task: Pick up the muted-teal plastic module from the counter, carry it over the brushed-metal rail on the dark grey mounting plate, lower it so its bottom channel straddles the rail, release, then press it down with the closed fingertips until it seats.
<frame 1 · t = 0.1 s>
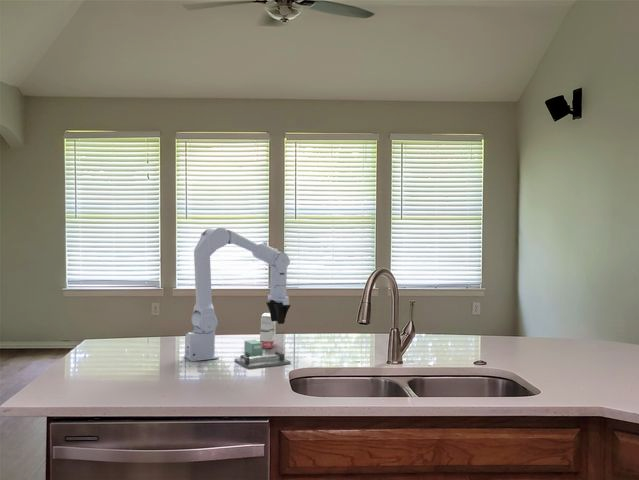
hand: (277, 322, 197), 10 cm above the countertop, fingers open, 5 cm apart
ink box: (267, 346, 204), on the countertop, touching gripper
rail plate: (262, 362, 178), on the countertop
module: (253, 356, 187), on the countertop
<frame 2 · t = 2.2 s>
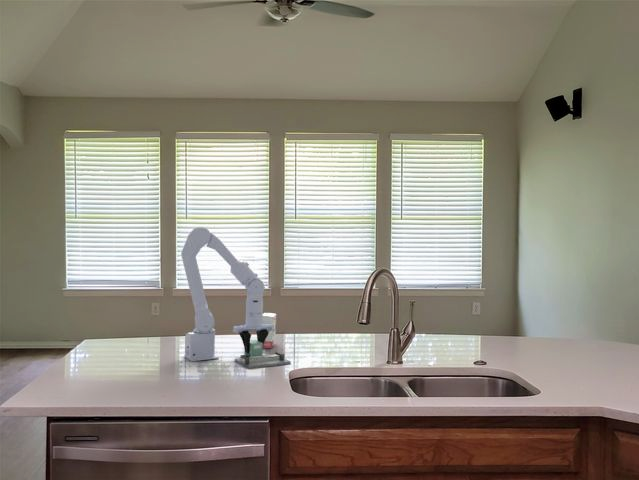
hand: (253, 352, 187), 1 cm above the countertop, fingers closed on module, 4 cm apart
ink box: (267, 346, 204), on the countertop
module: (253, 356, 187), on the countertop, touching gripper
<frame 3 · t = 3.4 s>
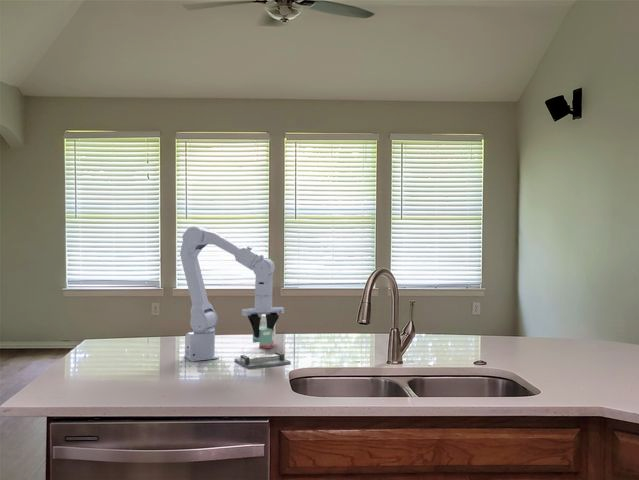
hand: (262, 336, 179), 8 cm above the countertop, fingers closed on module, 4 cm apart
module: (262, 343, 179), point 6 cm above the countertop, touching gripper
everything else where it was.
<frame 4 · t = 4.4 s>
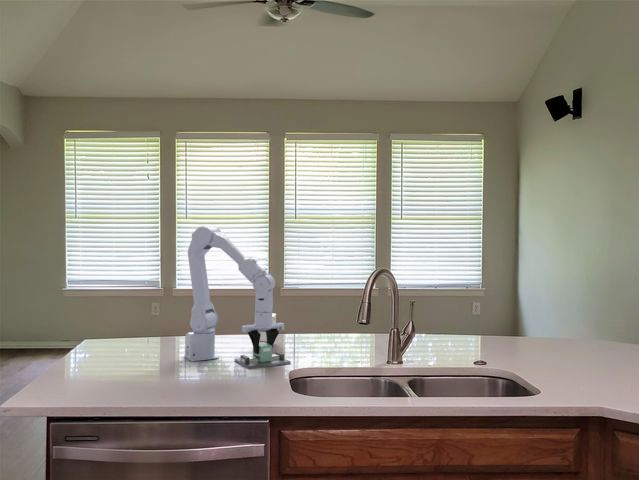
hand: (262, 352, 178), 3 cm above the countertop, fingers closed on module, 4 cm apart
module: (262, 359, 179), point 1 cm above the countertop, touching gripper
everything else where it was.
when the fingers open (3 cm above the countertop, at t = 5.0 s): module stays where it is, resting on rail plate.
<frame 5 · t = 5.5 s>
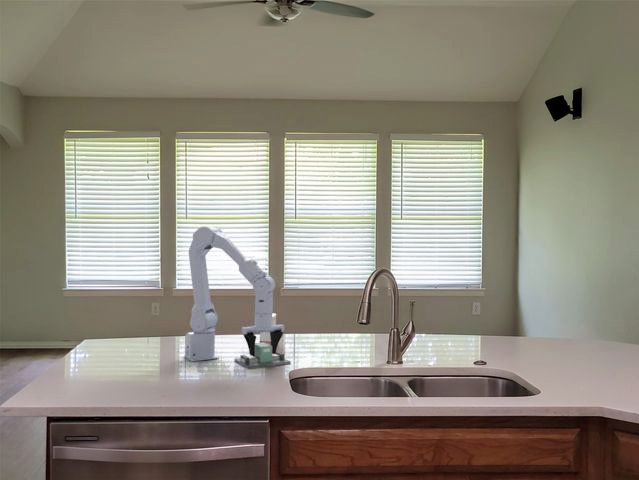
hand: (262, 354, 178), 3 cm above the countertop, fingers open, 7 cm apart
module: (262, 359, 179), point 1 cm above the countertop, touching rail plate
everything else where it was.
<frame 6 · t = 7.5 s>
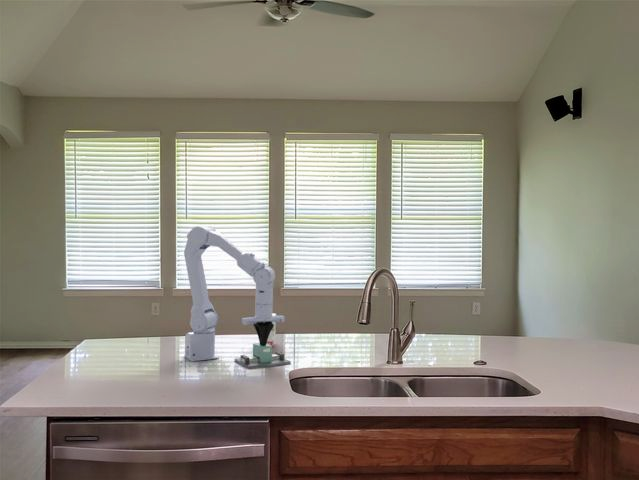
hand: (262, 345, 178), 6 cm above the countertop, fingers closed, pressing on module
module: (262, 359, 179), point 1 cm above the countertop, touching gripper, rail plate
everything else where it was.
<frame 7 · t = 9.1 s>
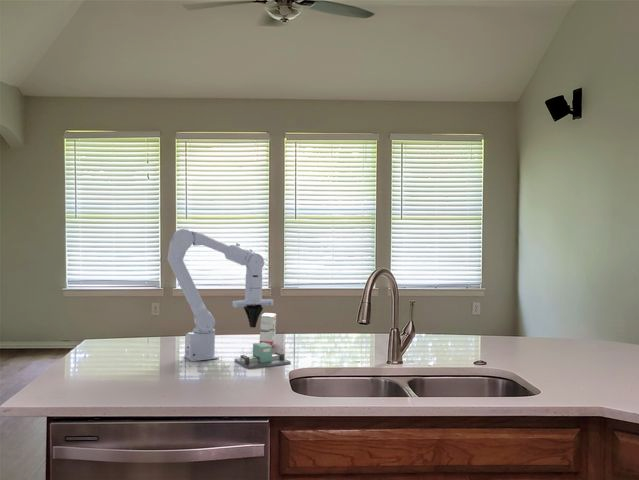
hand: (252, 327, 188), 10 cm above the countertop, fingers closed
module: (262, 359, 179), point 1 cm above the countertop, touching rail plate
everything else where it was.
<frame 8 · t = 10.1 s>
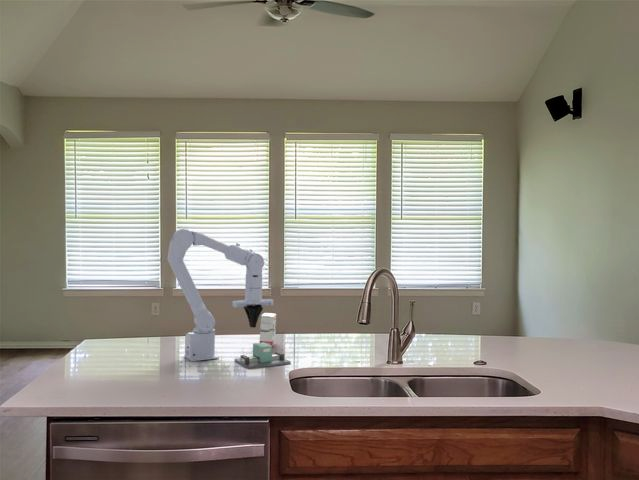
hand: (252, 327, 188), 10 cm above the countertop, fingers closed
nothing on the countertop moved.
at the end: module inside the target area on the rail plate (0.3 cm from its centre), point 0.8 cm above the rail plate's base; module tilted 0°; the gripper is holding nothing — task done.
